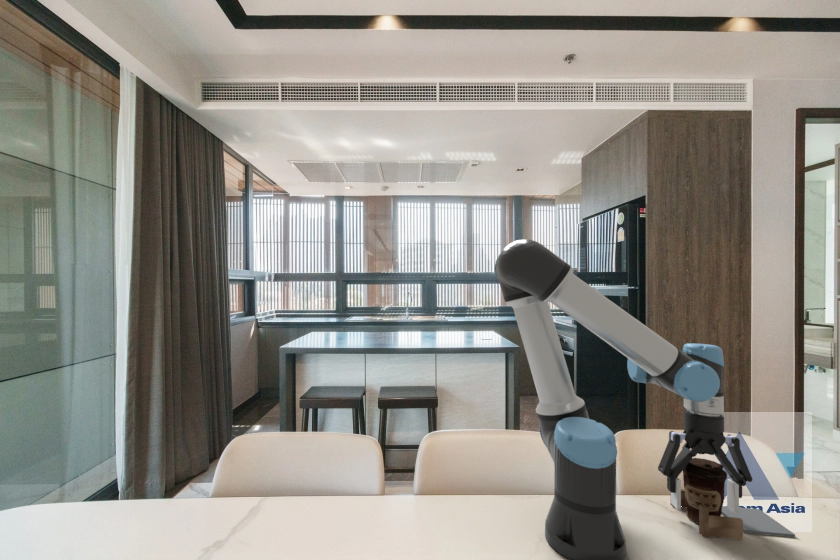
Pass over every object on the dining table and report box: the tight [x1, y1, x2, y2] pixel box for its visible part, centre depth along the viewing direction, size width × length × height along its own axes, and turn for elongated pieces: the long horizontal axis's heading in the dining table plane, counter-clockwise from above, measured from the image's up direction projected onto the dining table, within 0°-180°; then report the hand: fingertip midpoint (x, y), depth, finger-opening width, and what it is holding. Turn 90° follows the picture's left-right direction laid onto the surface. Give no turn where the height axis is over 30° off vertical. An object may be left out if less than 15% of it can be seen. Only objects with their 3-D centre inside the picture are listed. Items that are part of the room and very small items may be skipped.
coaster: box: [721, 505, 796, 538], centre depth 88 cm, size 10×10×1 cm
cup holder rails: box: [669, 488, 744, 540], centre depth 88 cm, size 8×13×6 cm, turn 173°
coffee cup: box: [682, 457, 728, 524], centre depth 88 cm, size 9×8×13 cm
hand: (704, 509), depth 88 cm, fingers open, 11 cm apart
